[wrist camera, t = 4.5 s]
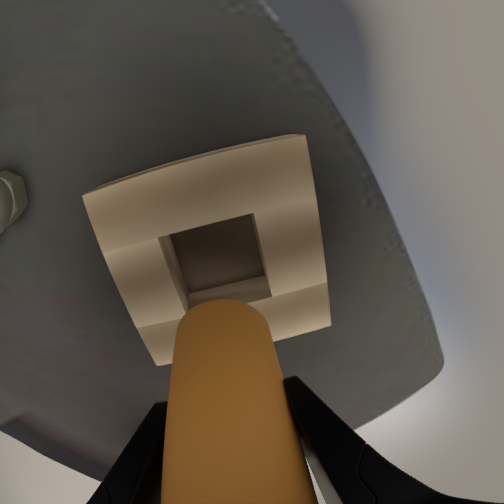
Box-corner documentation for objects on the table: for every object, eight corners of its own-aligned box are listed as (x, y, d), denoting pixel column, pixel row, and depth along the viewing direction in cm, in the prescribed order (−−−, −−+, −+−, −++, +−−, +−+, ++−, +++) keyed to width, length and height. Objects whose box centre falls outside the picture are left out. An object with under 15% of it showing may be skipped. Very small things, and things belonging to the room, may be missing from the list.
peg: (276, 360, 12) (335, 572, 4) (193, 377, 12) (198, 588, 4) (260, 288, 10) (341, 570, 2) (161, 311, 10) (127, 579, 2)
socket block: (317, 301, 22) (331, 325, 19) (161, 339, 22) (156, 366, 19) (290, 133, 17) (305, 134, 14) (100, 185, 17) (81, 196, 14)
